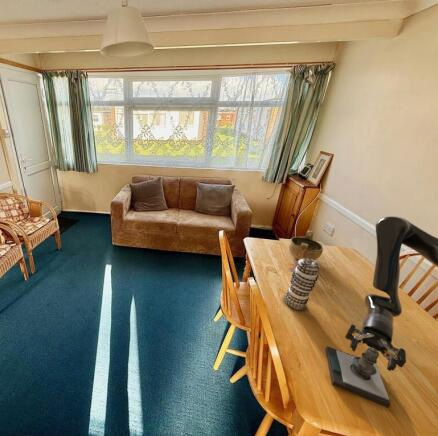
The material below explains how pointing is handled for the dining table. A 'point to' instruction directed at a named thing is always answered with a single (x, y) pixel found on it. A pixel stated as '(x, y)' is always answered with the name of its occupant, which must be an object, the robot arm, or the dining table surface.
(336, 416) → the dining table surface
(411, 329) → the dining table surface
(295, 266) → the lily
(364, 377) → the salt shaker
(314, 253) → the ceramic bowl
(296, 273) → the decorative candle
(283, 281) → the dining table surface
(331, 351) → the scale
